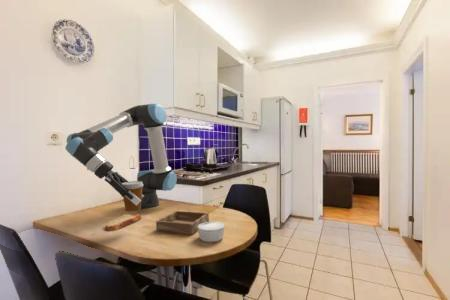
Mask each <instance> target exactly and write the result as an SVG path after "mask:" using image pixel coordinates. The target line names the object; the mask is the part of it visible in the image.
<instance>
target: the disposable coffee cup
mask: <svg viewBox="0 0 450 300" xmlns="http://www.w3.org/2000/svg"><path fill="white" fill-rule="evenodd" d="M122 184H123V185H124V186H125V188H126V189H127V190H128V191H131V192H132V193H133V194H134V195H135V196H137V197H138V198H139V199H140V200H141V199H142V188H143V183H142V182H141V181H137V180H134V181H133V180H132V181H129V182H124V183H122ZM122 198H123V203H124V208H125V212H136V211H140V210H141V209H142V208H141V202H140V203H139V204H138V205H137V206H136V205H135V204H134V203H133V202H132V201H130V200H129V199H128V198H127V197H126V196H124V197H122Z"/></svg>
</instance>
